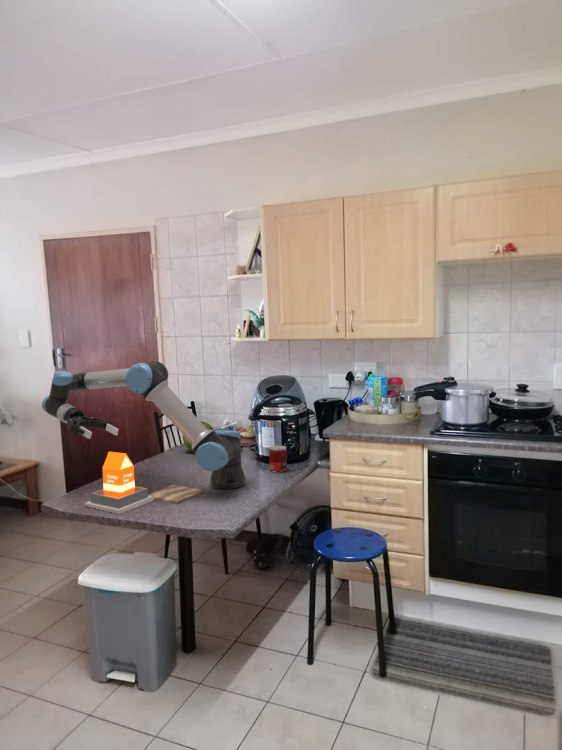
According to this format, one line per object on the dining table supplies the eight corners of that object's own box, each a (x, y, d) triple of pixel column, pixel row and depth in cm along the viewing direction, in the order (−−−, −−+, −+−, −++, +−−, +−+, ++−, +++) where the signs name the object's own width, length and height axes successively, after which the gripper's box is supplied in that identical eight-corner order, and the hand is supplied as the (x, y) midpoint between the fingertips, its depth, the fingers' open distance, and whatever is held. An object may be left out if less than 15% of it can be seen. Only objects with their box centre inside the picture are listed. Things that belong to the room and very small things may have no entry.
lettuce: (208, 457, 315) (227, 434, 315) (198, 460, 292) (219, 436, 292) (186, 437, 317) (205, 415, 317) (174, 438, 294) (195, 414, 294)
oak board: (203, 492, 230) (203, 490, 230) (177, 503, 216) (177, 501, 216) (173, 487, 238) (173, 484, 238) (146, 497, 224) (146, 495, 224)
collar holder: (153, 500, 221) (153, 487, 220) (118, 514, 206) (118, 501, 205) (120, 493, 230) (120, 481, 230) (85, 506, 215) (84, 493, 214)
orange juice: (118, 499, 223) (115, 449, 221) (135, 502, 219) (133, 451, 217) (103, 505, 216) (101, 453, 214) (121, 508, 212) (119, 455, 210)
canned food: (285, 473, 256) (284, 449, 255) (267, 472, 258) (267, 449, 256) (288, 468, 263) (287, 445, 262) (271, 468, 265) (271, 445, 264)
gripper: (92, 421, 248) (125, 439, 238) (42, 426, 227) (76, 446, 216) (96, 405, 247) (129, 422, 236) (46, 408, 225) (80, 427, 215)
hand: (104, 434), depth 226 cm, fingers open, 13 cm apart
